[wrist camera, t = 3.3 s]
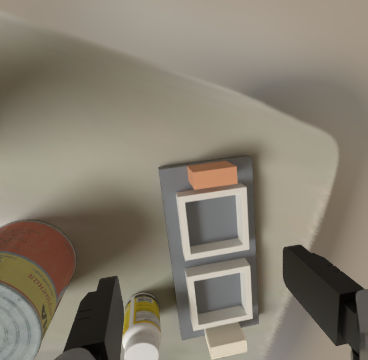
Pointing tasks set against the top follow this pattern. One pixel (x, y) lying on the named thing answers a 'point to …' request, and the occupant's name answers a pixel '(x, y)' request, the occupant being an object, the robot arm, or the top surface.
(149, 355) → the supplement bottle
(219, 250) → the holder board
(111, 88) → the top surface
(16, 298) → the canned food
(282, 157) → the top surface
